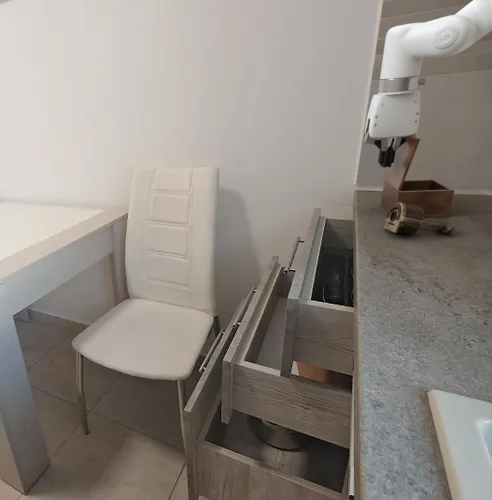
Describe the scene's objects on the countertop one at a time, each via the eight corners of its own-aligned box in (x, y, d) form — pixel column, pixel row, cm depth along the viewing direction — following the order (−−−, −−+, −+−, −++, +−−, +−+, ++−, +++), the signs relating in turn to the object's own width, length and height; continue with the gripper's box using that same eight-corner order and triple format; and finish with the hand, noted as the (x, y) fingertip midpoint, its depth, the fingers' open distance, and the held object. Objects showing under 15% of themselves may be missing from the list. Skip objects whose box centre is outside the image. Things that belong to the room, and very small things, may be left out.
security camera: (386, 200, 88) (383, 203, 80) (456, 199, 80) (460, 203, 73) (384, 230, 89) (381, 236, 81) (453, 232, 82) (456, 239, 74)
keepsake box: (428, 203, 98) (434, 179, 95) (448, 217, 88) (454, 190, 86) (380, 205, 101) (384, 181, 98) (394, 218, 91) (398, 192, 89)
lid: (402, 132, 92) (400, 132, 92) (420, 138, 83) (417, 138, 83) (385, 180, 98) (383, 179, 98) (400, 190, 88) (397, 190, 89)
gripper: (428, 82, 86) (413, 161, 93) (356, 89, 89) (348, 164, 97) (444, 82, 79) (426, 167, 86) (366, 90, 83) (355, 171, 90)
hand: (385, 166), depth 92 cm, fingers closed
